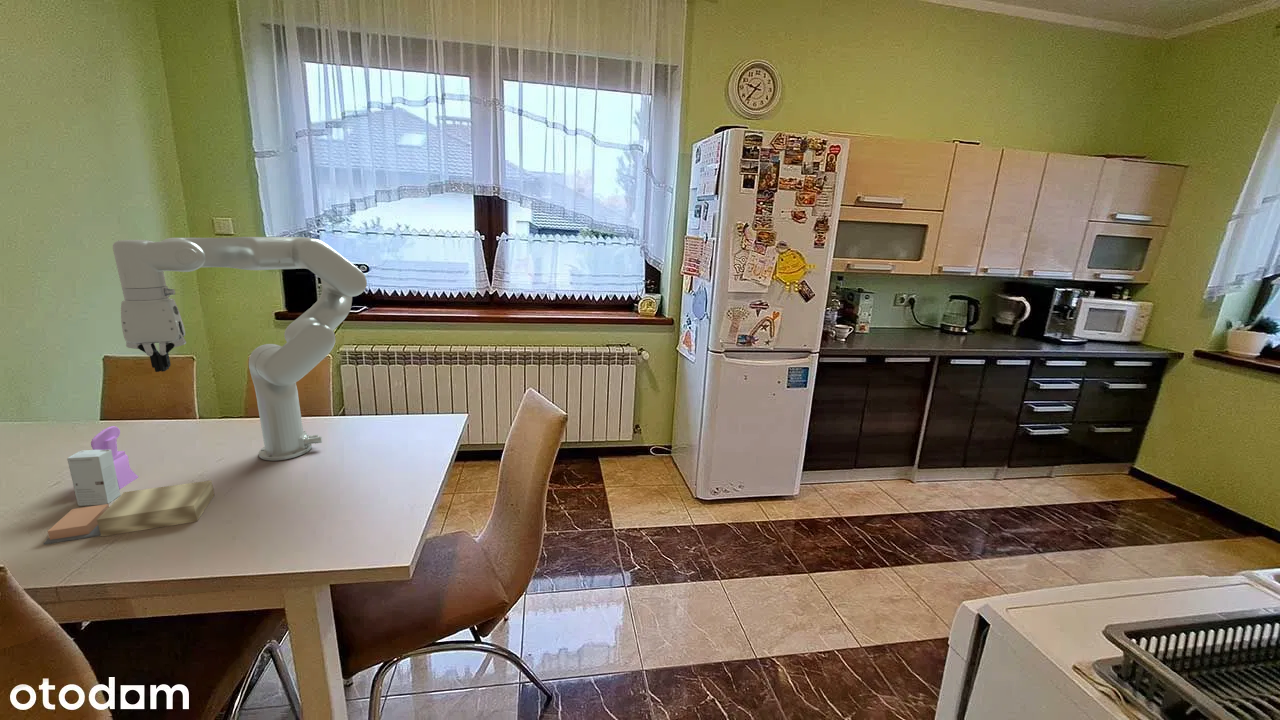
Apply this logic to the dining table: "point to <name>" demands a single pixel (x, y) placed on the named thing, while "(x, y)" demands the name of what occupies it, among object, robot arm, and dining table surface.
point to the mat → (92, 534)
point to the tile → (77, 522)
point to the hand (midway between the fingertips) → (162, 370)
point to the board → (156, 508)
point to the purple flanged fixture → (115, 454)
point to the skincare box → (94, 477)
